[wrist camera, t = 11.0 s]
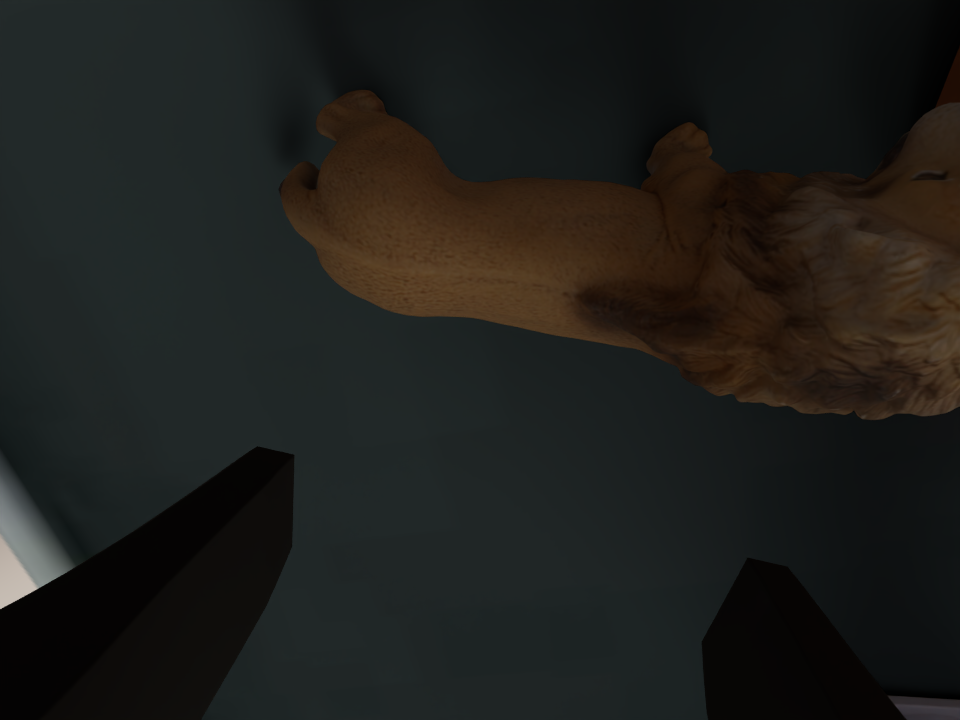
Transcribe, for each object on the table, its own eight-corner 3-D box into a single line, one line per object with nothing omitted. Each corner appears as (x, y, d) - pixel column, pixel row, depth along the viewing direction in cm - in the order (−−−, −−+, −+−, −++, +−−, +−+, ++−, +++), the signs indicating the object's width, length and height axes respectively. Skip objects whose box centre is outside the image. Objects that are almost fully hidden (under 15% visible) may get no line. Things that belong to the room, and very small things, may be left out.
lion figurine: (889, 56, 14) (1272, 116, 6) (838, 280, 17) (1065, 520, 9) (269, 88, 16) (-18, 162, 8) (308, 281, 19) (115, 475, 11)
